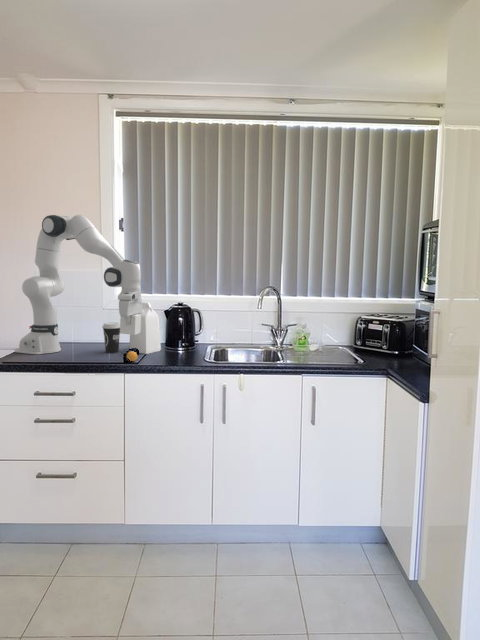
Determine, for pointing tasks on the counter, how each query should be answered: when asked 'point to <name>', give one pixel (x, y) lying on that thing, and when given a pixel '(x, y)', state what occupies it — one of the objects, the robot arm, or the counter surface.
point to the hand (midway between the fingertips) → (131, 324)
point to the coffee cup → (111, 336)
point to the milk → (147, 332)
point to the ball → (132, 356)
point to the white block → (131, 325)
